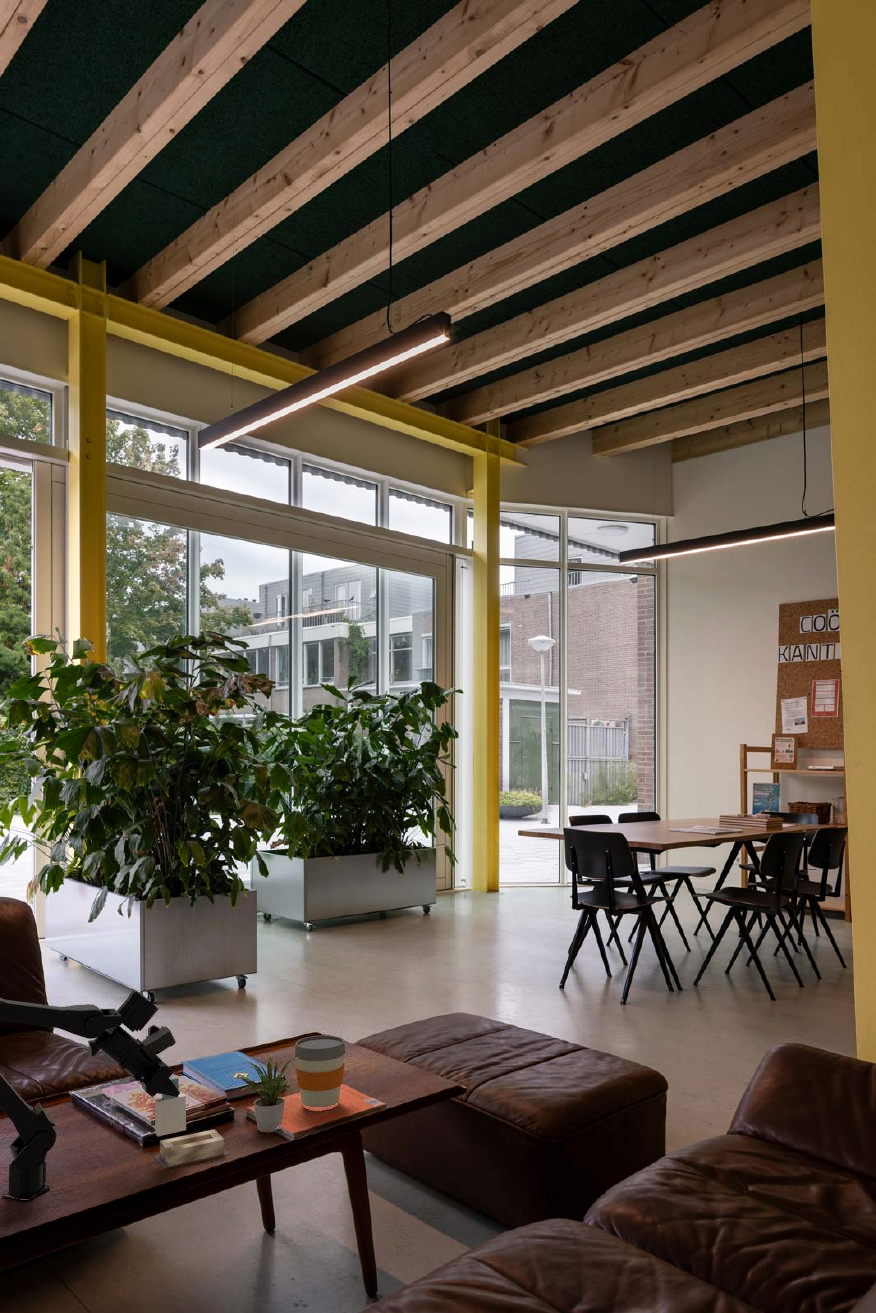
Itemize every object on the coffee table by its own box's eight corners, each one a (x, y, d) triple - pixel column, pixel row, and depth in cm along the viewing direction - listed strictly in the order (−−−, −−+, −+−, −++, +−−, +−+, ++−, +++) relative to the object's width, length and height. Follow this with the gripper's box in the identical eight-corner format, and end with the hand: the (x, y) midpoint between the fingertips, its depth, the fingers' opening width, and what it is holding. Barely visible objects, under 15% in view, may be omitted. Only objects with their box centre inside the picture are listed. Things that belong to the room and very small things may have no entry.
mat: (164, 1170, 201) (164, 1168, 201) (154, 1157, 208) (154, 1155, 208) (229, 1155, 208) (229, 1153, 208) (218, 1143, 215) (218, 1141, 215)
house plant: (280, 1112, 234) (280, 1042, 236) (315, 1126, 224) (314, 1053, 226) (229, 1128, 224) (229, 1055, 226) (263, 1143, 214) (263, 1067, 216)
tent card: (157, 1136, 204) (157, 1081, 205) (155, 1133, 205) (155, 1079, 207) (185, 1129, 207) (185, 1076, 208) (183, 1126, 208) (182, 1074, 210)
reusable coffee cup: (332, 1116, 230) (331, 1050, 232) (285, 1111, 234) (285, 1046, 236) (354, 1099, 242) (353, 1037, 244) (309, 1094, 246) (309, 1033, 248)
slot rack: (168, 1166, 202) (168, 1151, 202) (159, 1155, 208) (160, 1140, 208) (224, 1153, 208) (224, 1139, 208) (214, 1143, 214) (214, 1129, 214)
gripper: (162, 1026, 199) (215, 1071, 203) (141, 1008, 215) (190, 1050, 219) (123, 1073, 194) (178, 1119, 198) (104, 1051, 210) (155, 1093, 214)
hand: (176, 1093), depth 208 cm, fingers closed on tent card, 2 cm apart
